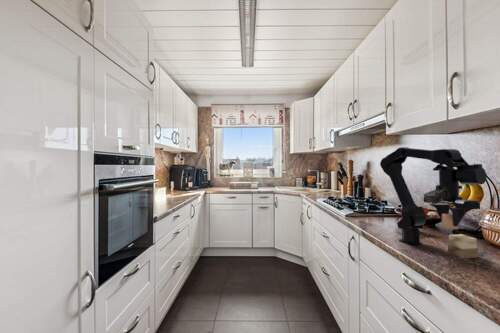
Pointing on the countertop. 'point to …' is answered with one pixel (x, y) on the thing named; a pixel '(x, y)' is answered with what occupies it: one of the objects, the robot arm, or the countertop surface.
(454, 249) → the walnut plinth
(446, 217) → the tan rounded piece
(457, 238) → the maple block
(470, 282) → the countertop surface
